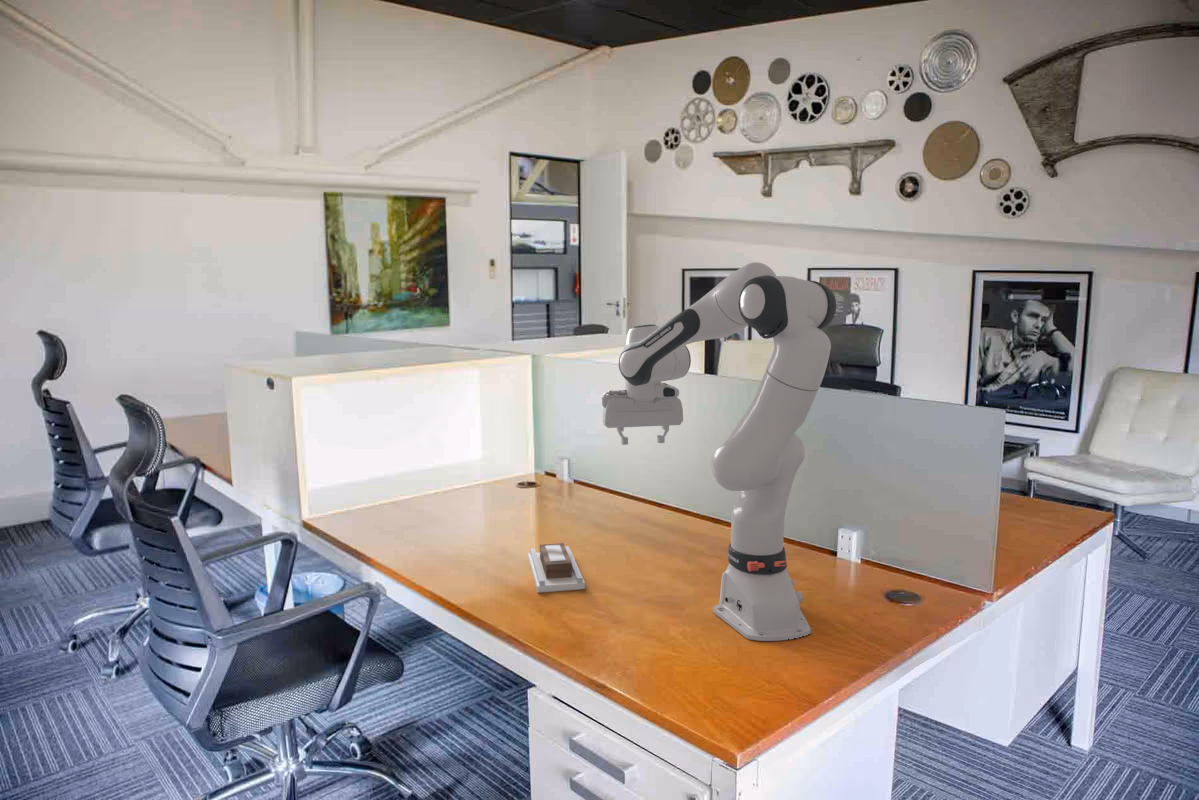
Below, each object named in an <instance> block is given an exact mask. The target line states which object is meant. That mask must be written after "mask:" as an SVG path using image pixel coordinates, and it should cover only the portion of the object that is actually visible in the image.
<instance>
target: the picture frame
mask: <svg viewBox="0 0 1199 800" xmlns="http://www.w3.org/2000/svg"><path fill="white" fill-rule="evenodd" d="M565 546H566V545H565V543H564V542H561V543H547V544H539V553H540V560H541V563H542V566H543V569H544V573H545V576H546V579H554V578H567V577H572V562H571V560H570V557H569V555H568V553H567V550H566V548H565Z"/></svg>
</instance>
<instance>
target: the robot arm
mask: <svg viewBox="0 0 1199 800" xmlns="http://www.w3.org/2000/svg"><path fill="white" fill-rule="evenodd" d="M836 311H837V300H836V296H835V294H834V292H833V291H832V289H831V288H830V287H828V286H827V285H825V284H823V283H821V282H818V281H816V280H807V279H802V278H797V277H794V276H787V275H778V276H777V274H776V272H775V271H774V270H773V269H772V268H771V267H769V266H768V265H766V264H765V263H761V262H758V261H757V262H756V261H755V262H750V263H747V264H745V265H743V266H741V267H740V268H738V269H737V270H735V271H734V272H732V273H731V274H729V275H728V276H726V277H725V278H723V280H721V281H720V282H719V283H718V284H717V285H716V286H715V287H713V288H712V289H711V290H710V291H709V292H707V293H705V295H703V296H702V297H700V299H699V300H697V301H695V302H694V303H693V304H691V305H689V306H688V307H687V308H685V309H684V310H683V311H681V312H679V313H678V314H676V315H675V316H673V317H672V318H670V319H669V320H668V321H667V322H665V323H664V324H662V325H661V326H659V325H655V324H643V325H636V326H633V327H631V328H630V329H629V330H628V331H627V335H626V340H625V346H624V348H623V349H622V351H621V353H620V356H619V358H618V370H619V372H620V375H621V376H622V377H623V378H624V379H625V381H624V383H625V387H624V388H625V389H622V390H620V389H619V390H607V392H605V393H603V395H602V397H601V400H602V401H601V405H602V407H603V411H602V412H603V413H602V424H603V426H604V427H606V428H608V429H616V432H617V434H618V435H619V436H620V444H621V445H622V446H625V445H626V446H627V445H629V442H628V441H629V437H628V436H625V435H624V434H623V433H624V431H625V428H641V427H642V428H643V427H661V429H662V431H661V433H660V434H659V435H656V437H657V439H656V440H657V441H656V442H657V443H658V444H665V439H666V438H665V437H666V436H667V434H668V432H669V431H670V426H681V424H682V423H683V422H684V411H683V410H684V409H683V404H682V401H681V399H680V398H679V395H680V389H679V388H677V387H676V386H675V385H674V386H673V385H671V384H667V383H665V382H667V381H673V380H678V379H681V378H683V377H685V376H686V375H687V374H688V372H689V371H690V368H691V363H692V362H691V361H692V359H691V353H690V352H691V351H690V350H689V348H688V346H686V345H689V344H693V343H697V342H701V341H702V342H703V341H710V340H717V339H723V338H727V337H730V336H732V335H735V334H736V333H738V332H740V331H742V330H743V329H745V328H746V327H748V326H750V327H751V328H752V329H753V330H755V331H756V332H757V334H758V335H759V336H760V338H763V339H764V340H767V339H772V340H773V344H774V348H773V351H772V355H771V358H770V360H769V362H768V364H767V367H766V369H765V372H764V374H763V375H762V379H761V381H760V383H759V386H758V389H757V391H756V394H755V396H754V398H753V400H752V401H751V403H750V406H749V407H748V409H747V410H746V412H745V414H743V416H742V418H741V419H740V421H739V422H738V423H737V425H736V427H735V428H734V429H733V431H732V433H731V434H730V436H728V438H726V441H724V443H722V445H720V446H719V448H717V449H716V451H715V452H714V453H713V455H712V457H711V462H710V463H711V464H710V465H711V466H710V468H711V469H710V470H711V472H712V476H713V478H714V479H715V481H716V483H718V485H719V486H720V487H722V488H723V489H725V490H727V491H731V492H740V494H739V496H738V498H737V500H736V502H735V503H734V505H733V507H732V510H731V515H730V516H731V517H730V518H731V519H730V520H731V521H730V522H731V523H730V524H731V525H730V526H731V527H730V543H729V544H728V550H727V555H728V556H727V557H728V558H727V560H728V566H727V568H726V569H725V570H724V572H722V575H721V581H720V582H721V583H720V592H719V594H720V595H719V603H718V604H716V605H714V606H713V610H712V612H713V613H714V614H715V615H716V616H717V617H719V618H720V619H722V620H723V621H724V622H725V623H727V624H728V625H729V626H730V627H731V628H733V629H734V630H735V631H737V632H738V633H739V634H740V635H742V636H743V637H744V638H745V639H747V640H751V641H759V642H760V641H761V642H778V641H789V640H794V638H796V639H800V638H799V637H801V638H803V637H802V636H804V637H806V635H807V636H808V634H809V635H810V634H812V629H811V627H810V623H808V621H807V619H806V617H805V615H804V613H803V611H802V610H801V608H800V603H803V600H804V596H803V592H802V591H801V590H800V591H799V590H798V591H797V590H795V588H794V586H795V579H792V578H791V576H790V574H789V571H788V562H787V554H786V549H785V546H784V532H785V531H784V529H785V516H786V510H787V504H788V501H789V497H790V494H791V490H792V486H793V483H794V480H795V478H796V477H795V476H796V474H797V472H798V471H799V468H800V467H801V465H802V463H803V461H804V458H805V446H804V444H803V442H802V440H801V438H800V437H799V435H798V434H796V433H795V432H797V431H798V430H799V428H801V426H802V425H804V423H805V422H806V419H807V417H808V415H809V412H810V410H811V407H812V406H813V403H814V400H815V399H816V396H817V395H818V391H819V389H820V387H821V384H822V382H823V379H824V376H825V373H826V370H827V367H828V363H829V359H830V353H831V349H832V348H831V347H832V344H831V340H830V338H829V336H828V335H827V334H826V333H825V332H824V331H823V330H824V329H825V328H827V327H828V326H829V325H830V324H831V323H832V322H833V319H834V317H835V315H836ZM788 639H789V640H788Z"/></svg>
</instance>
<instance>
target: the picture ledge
mask: <svg viewBox="0 0 1199 800" xmlns="http://www.w3.org/2000/svg"><path fill="white" fill-rule="evenodd" d="M565 548H566V550H567V553H568V555H569V557H570V560H571V562H572V577H567V578H554V579H546V576H545V573H544V569H543V566H542V563H541V560H540V552H537V551H536V548H535V547H533V548H530V549H529V552H528V553H527V559H528V563H529V567H530V570H531V574H532V579H533V582H534V584H535V589H536V593H537V594H538V593H539V594H540V593H550V592H562V591H563V592H564V591H574V590H575V591H577V590H585V589H586V582H585V580H584V577H583V575H582V573H581V570H580V568H579V567H578V563H577V562H576V559H575V556H574V553H572V550H571V548H570V546H569V545H565Z"/></svg>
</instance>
